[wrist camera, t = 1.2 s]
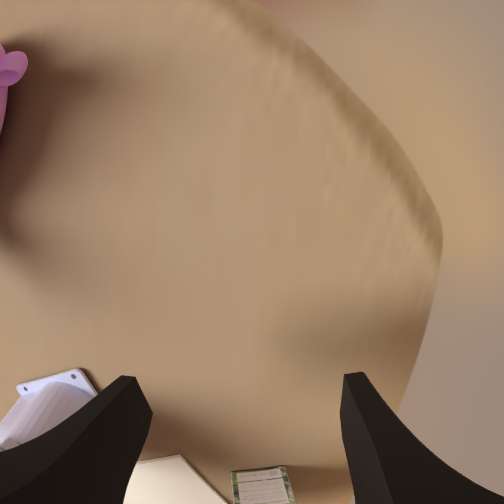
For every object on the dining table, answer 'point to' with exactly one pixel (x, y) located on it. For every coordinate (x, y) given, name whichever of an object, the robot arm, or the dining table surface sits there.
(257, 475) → the syrup box
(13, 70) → the teapot
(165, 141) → the dining table surface
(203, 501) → the mat
